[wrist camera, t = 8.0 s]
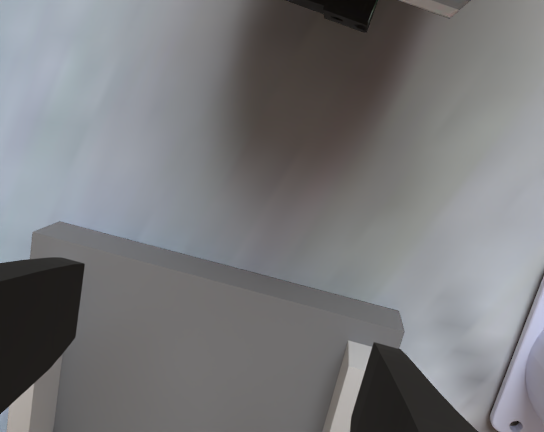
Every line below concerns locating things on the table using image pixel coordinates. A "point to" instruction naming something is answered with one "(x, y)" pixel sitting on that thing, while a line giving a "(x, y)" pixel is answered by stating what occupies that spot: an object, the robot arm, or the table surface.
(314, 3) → the circuit breaker
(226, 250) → the table surface
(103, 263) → the grey shallow rectangular tray
